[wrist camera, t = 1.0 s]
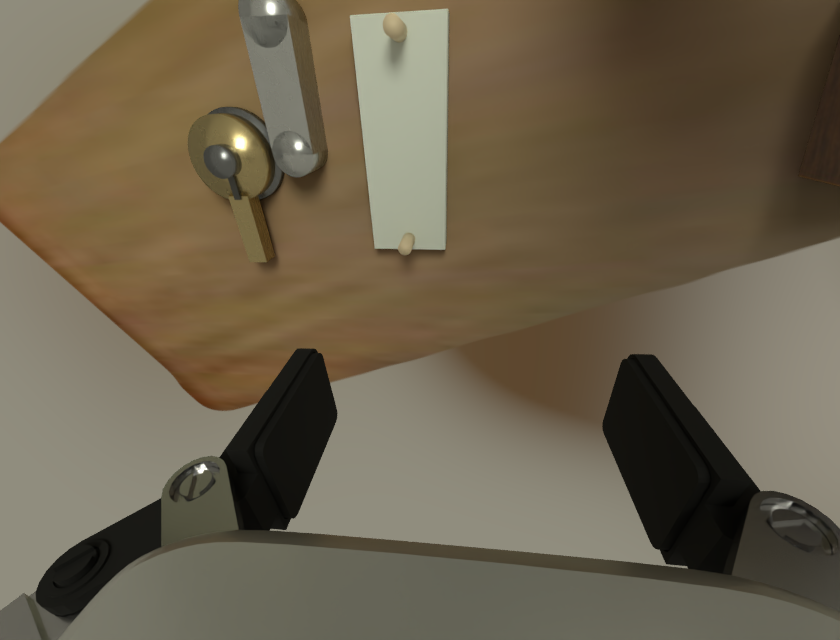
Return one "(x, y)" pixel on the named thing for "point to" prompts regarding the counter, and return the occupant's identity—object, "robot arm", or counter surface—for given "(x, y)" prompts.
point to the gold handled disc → (236, 173)
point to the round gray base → (262, 127)
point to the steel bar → (285, 82)
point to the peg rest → (404, 124)
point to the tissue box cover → (826, 132)
